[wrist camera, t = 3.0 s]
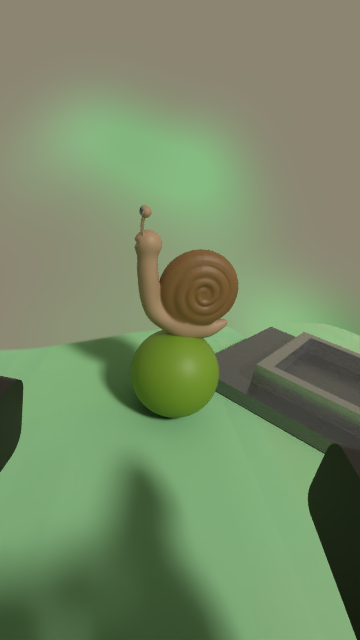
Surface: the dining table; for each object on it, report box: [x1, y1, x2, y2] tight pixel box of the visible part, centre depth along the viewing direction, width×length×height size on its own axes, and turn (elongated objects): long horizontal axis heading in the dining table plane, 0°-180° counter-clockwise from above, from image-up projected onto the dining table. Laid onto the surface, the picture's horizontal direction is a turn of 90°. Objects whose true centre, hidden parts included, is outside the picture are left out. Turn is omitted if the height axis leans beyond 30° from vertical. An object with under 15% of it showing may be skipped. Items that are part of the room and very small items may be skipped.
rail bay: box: [215, 327, 360, 453], centre depth 27 cm, size 20×16×2 cm
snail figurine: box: [131, 205, 238, 418], centre depth 19 cm, size 5×6×12 cm
